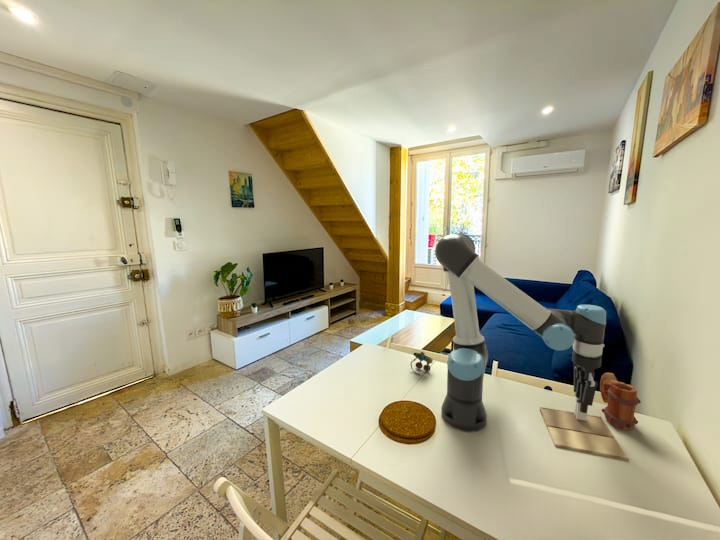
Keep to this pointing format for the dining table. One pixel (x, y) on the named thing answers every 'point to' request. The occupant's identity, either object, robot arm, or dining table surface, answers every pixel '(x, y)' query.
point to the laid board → (587, 443)
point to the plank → (575, 422)
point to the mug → (618, 402)
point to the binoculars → (421, 358)
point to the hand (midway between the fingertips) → (580, 417)
